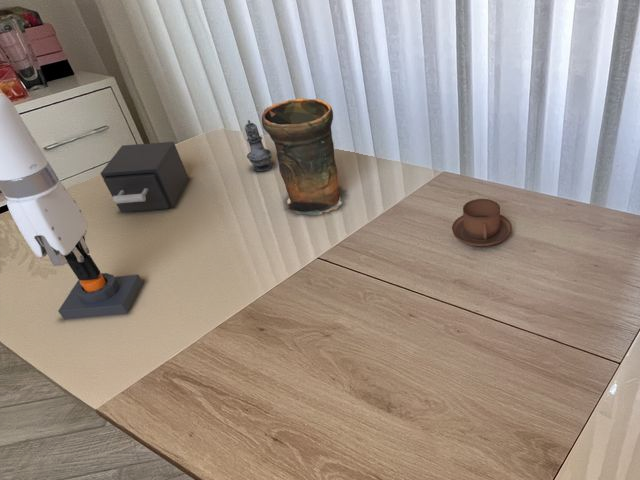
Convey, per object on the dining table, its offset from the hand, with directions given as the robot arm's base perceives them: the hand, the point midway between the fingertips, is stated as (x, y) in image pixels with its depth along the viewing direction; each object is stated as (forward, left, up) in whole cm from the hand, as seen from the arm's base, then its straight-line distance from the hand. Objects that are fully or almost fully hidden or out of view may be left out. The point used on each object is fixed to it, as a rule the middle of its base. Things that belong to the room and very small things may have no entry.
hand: (90, 276), depth 96 cm
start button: (0, 0, -2) cm, 2 cm away
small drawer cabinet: (-2, +39, -6) cm, 40 cm away
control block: (0, 0, -6) cm, 6 cm away
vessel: (+36, +31, -6) cm, 48 cm away
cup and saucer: (+71, +11, -6) cm, 72 cm away
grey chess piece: (+21, +49, -6) cm, 54 cm away
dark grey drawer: (-2, +35, -5) cm, 36 cm away
